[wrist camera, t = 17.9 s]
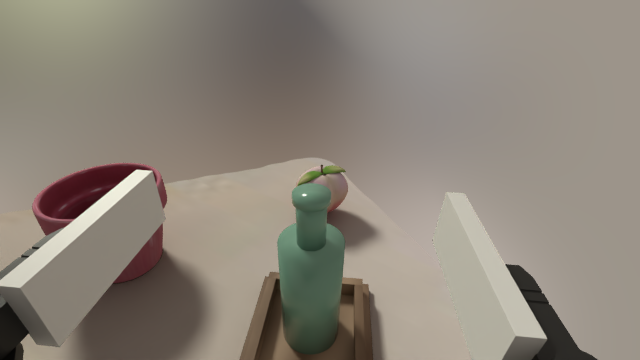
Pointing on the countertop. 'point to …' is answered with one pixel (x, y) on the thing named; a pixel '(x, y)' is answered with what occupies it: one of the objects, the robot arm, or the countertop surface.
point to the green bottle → (311, 272)
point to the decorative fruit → (327, 182)
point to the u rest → (267, 327)
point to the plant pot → (85, 190)
